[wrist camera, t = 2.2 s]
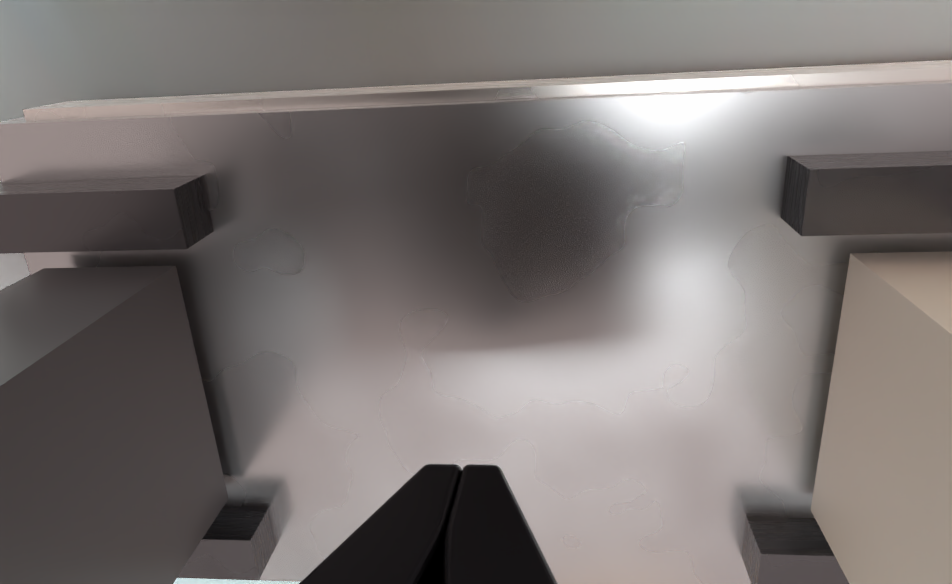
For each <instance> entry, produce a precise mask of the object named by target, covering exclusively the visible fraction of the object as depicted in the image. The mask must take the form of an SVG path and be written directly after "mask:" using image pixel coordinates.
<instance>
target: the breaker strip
mask: <svg viewBox="0 0 952 584" xmlns="http://www.w3.org/2000/svg"><path fill="white" fill-rule="evenodd" d="M23 113H24V117H20V118H15V119H10V120H5V121H0V179H1V182H0V253H24V256H25V259H26V263H27V266H28V269H29V272H30V275H32V274H34V273H36V272H38V271H40V270H41V269H43V268H84V267H138V266H176V269H177V273H178V277H179V282H180V286H181V291H182V295H183V299H184V304H185V308H186V313H187V317H188V321H189V326H190V330H191V335H192V339H193V344H194V348H195V352H196V357H197V361H198V366H199V370H200V374H201V379H202V383H203V388H204V392H205V396H206V401H207V405H208V410H209V414H210V419H211V423H212V427H213V432H214V436H215V441H216V445H217V449H218V454H219V458H220V463H221V467H222V472H223V476H224V480H225V485H226V489H227V494H228V498H229V499H228V500H227V502H226V503H225V505H224V506H223V508H222V509H221V511H220V512H219V514H218V515H217V517H216V519H215V520H214V522H213V523H212V525H211V526H210V528H209V529H208V531H207V532H206V534H205V535H204V537H203V538H202V540H201V541H200V543H199V544H198V546H197V548H196V549H195V551H194V552H193V554H192V555H191V557H190V558H189V560H188V561H187V563H186V564H185V566H184V567H183V569H182V570H181V572H180V574H179V575H178V577H177V578H207V579H237V580H271V581H302V580H303V579H304V578H305V577H307V576H308V575H309V574H310V573H311V572H312V571H313V570H314V569H315V568H316V567H317V566H318V565H319V564H320V563H321V562H322V561H323V560H325V559H326V558H327V557H328V556H329V555H330V554H331V553H332V552H333V551H334V550H335V549H336V548H337V547H338V546H339V545H340V544H341V543H343V542H344V541H345V540H346V539H347V538H348V537H349V536H350V535H351V534H352V533H353V532H354V531H355V530H356V529H357V528H358V527H359V526H360V525H362V524H363V523H364V522H365V521H366V520H367V519H368V518H369V517H370V516H371V515H372V514H373V513H374V512H375V511H376V510H377V509H378V508H380V507H381V506H382V505H383V504H384V503H385V502H386V501H387V500H388V499H389V498H390V497H391V496H392V495H393V494H394V493H395V492H396V491H398V490H399V489H400V488H401V487H402V486H403V485H404V484H405V483H406V482H407V481H408V480H409V479H410V478H411V477H412V476H413V475H414V474H416V473H417V472H418V471H419V470H420V469H421V468H422V467H423V466H425V465H427V464H458V465H459V466H461V468H462V469H463V467H464V466H466V465H468V464H490V465H498V466H499V467H500V468H501V469H502V471H503V473H504V475H505V477H506V479H507V481H508V483H509V485H510V487H511V489H512V491H513V494H514V496H515V498H516V500H517V502H518V504H519V506H520V508H521V510H522V512H523V514H524V516H525V518H526V520H527V522H528V524H529V526H530V528H531V530H532V532H533V534H534V536H535V538H536V540H537V542H538V544H539V546H540V548H541V550H542V552H543V555H544V557H545V559H546V561H547V563H548V565H549V567H550V569H551V571H552V573H553V575H554V577H555V579H556V581H557V583H558V584H849V582H848V580H847V578H846V576H845V574H844V573H843V571H842V569H841V567H840V565H839V563H838V561H837V559H836V557H835V555H834V554H833V552H832V550H831V548H830V546H829V544H828V542H827V540H826V538H825V536H824V535H823V533H822V531H821V529H820V527H819V525H818V523H817V521H816V519H815V518H814V516H813V514H812V512H811V503H812V497H813V491H814V484H815V478H816V471H817V465H818V458H819V452H820V446H821V439H822V433H823V426H824V420H825V413H826V407H827V400H828V394H829V388H830V381H831V375H832V368H833V362H834V355H835V349H836V342H837V336H838V330H839V323H840V317H841V310H842V304H843V297H844V291H845V285H846V278H847V272H848V265H849V259H850V253H893V252H947V251H952V60H939V61H918V62H896V63H875V64H853V65H832V66H810V67H789V68H767V69H746V70H724V71H703V72H681V73H660V74H638V75H617V76H595V77H574V78H552V79H531V80H509V81H488V82H467V83H445V84H424V85H402V86H381V87H359V88H338V89H316V90H295V91H273V92H252V93H230V94H209V95H187V96H166V97H144V98H123V99H101V100H80V101H66V102H60V103H55V104H50V105H44V106H39V107H34V108H28V109H23Z"/></svg>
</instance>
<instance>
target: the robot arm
mask: <svg viewBox="0 0 952 584" xmlns="http://www.w3.org/2000/svg"><path fill="white" fill-rule="evenodd" d="M299 584H558V583H557V581H556V579H555V577H554V575H553V573H552V571H551V569H550V567H549V565H548V563H547V561H546V559H545V557H544V555H543V552H542V550H541V548H540V546H539V544H538V542H537V540H536V538H535V536H534V534H533V532H532V530H531V528H530V526H529V524H528V522H527V520H526V518H525V516H524V514H523V512H522V510H521V508H520V506H519V504H518V502H517V500H516V498H515V496H514V494H513V491H512V489H511V487H510V485H509V483H508V481H507V479H506V477H505V475H504V473H503V471H502V469H501V468H500V467H499V466H498V465H490V464H468V465H466V466H464V467H463V469H462V468H461V466H459V465H458V464H427V465H425V466H423V467H422V468H421V469H420V470H419V471H418V472H417V473H416V474H414V475H413V476H412V477H411V478H410V479H409V480H408V481H407V482H406V483H405V484H404V485H403V486H402V487H401V488H400V489H399V490H398V491H396V492H395V493H394V494H393V495H392V496H391V497H390V498H389V499H388V500H387V501H386V502H385V503H384V504H383V505H382V506H381V507H380V508H378V509H377V510H376V511H375V512H374V513H373V514H372V515H371V516H370V517H369V518H368V519H367V520H366V521H365V522H364V523H363V524H362V525H360V526H359V527H358V528H357V529H356V530H355V531H354V532H353V533H352V534H351V535H350V536H349V537H348V538H347V539H346V540H345V541H344V542H343V543H341V544H340V545H339V546H338V547H337V548H336V549H335V550H334V551H333V552H332V553H331V554H330V555H329V556H328V557H327V558H326V559H325V560H323V561H322V562H321V563H320V564H319V565H318V566H317V567H316V568H315V569H314V570H313V571H312V572H311V573H310V574H309V575H308V576H307V577H305V578H304V579H303V580H302V581H301V582H300V583H299Z"/></svg>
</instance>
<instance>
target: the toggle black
mask: <svg viewBox="0 0 952 584" xmlns="http://www.w3.org/2000/svg"><path fill="white" fill-rule="evenodd" d="M228 499H229V498H228V494H227V489H226V485H225V480H224V476H223V472H222V467H221V463H220V458H219V454H218V449H217V445H216V441H215V436H214V432H213V427H212V423H211V419H210V414H209V410H208V405H207V401H206V396H205V392H204V388H203V383H202V379H201V374H200V370H199V366H198V361H197V357H196V352H195V348H194V344H193V339H192V335H191V330H190V326H189V321H188V317H187V313H186V308H185V304H184V299H183V295H182V291H181V286H180V282H179V277H178V273H177V269H176V266H138V267H84V268H43V269H41V270H40V271H38V272H36V273H34V274H32V275H30V276H28V277H26V278H24V279H22V280H20V281H18V282H16V283H14V284H12V285H10V286H8V287H6V288H4V289H2V290H0V584H173V583H174V581H175V580H176V578H177V577H178V575H179V574H180V572H181V570H182V569H183V567H184V566H185V564H186V563H187V561H188V560H189V558H190V557H191V555H192V554H193V552H194V551H195V549H196V548H197V546H198V544H199V543H200V541H201V540H202V538H203V537H204V535H205V534H206V532H207V531H208V529H209V528H210V526H211V525H212V523H213V522H214V520H215V519H216V517H217V515H218V514H219V512H220V511H221V509H222V508H223V506H224V505H225V503H226V502H227V500H228Z"/></svg>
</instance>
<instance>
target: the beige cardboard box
mask: <svg viewBox="0 0 952 584" xmlns="http://www.w3.org/2000/svg"><path fill="white" fill-rule="evenodd" d="M811 512H812V514H813V516H814V518H815V519H816V521H817V523H818V525H819V527H820V529H821V531H822V533H823V535H824V536H825V538H826V540H827V542H828V544H829V546H830V548H831V550H832V552H833V554H834V555H835V557H836V559H837V561H838V563H839V565H840V567H841V569H842V571H843V573H844V574H845V576H846V578H847V580H848V582H849V584H952V251H947V252H893V253H850V259H849V265H848V272H847V278H846V285H845V291H844V297H843V304H842V310H841V317H840V323H839V330H838V336H837V342H836V349H835V355H834V362H833V368H832V375H831V381H830V388H829V394H828V400H827V407H826V413H825V420H824V426H823V433H822V439H821V446H820V452H819V458H818V465H817V471H816V478H815V484H814V491H813V497H812V503H811Z"/></svg>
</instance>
